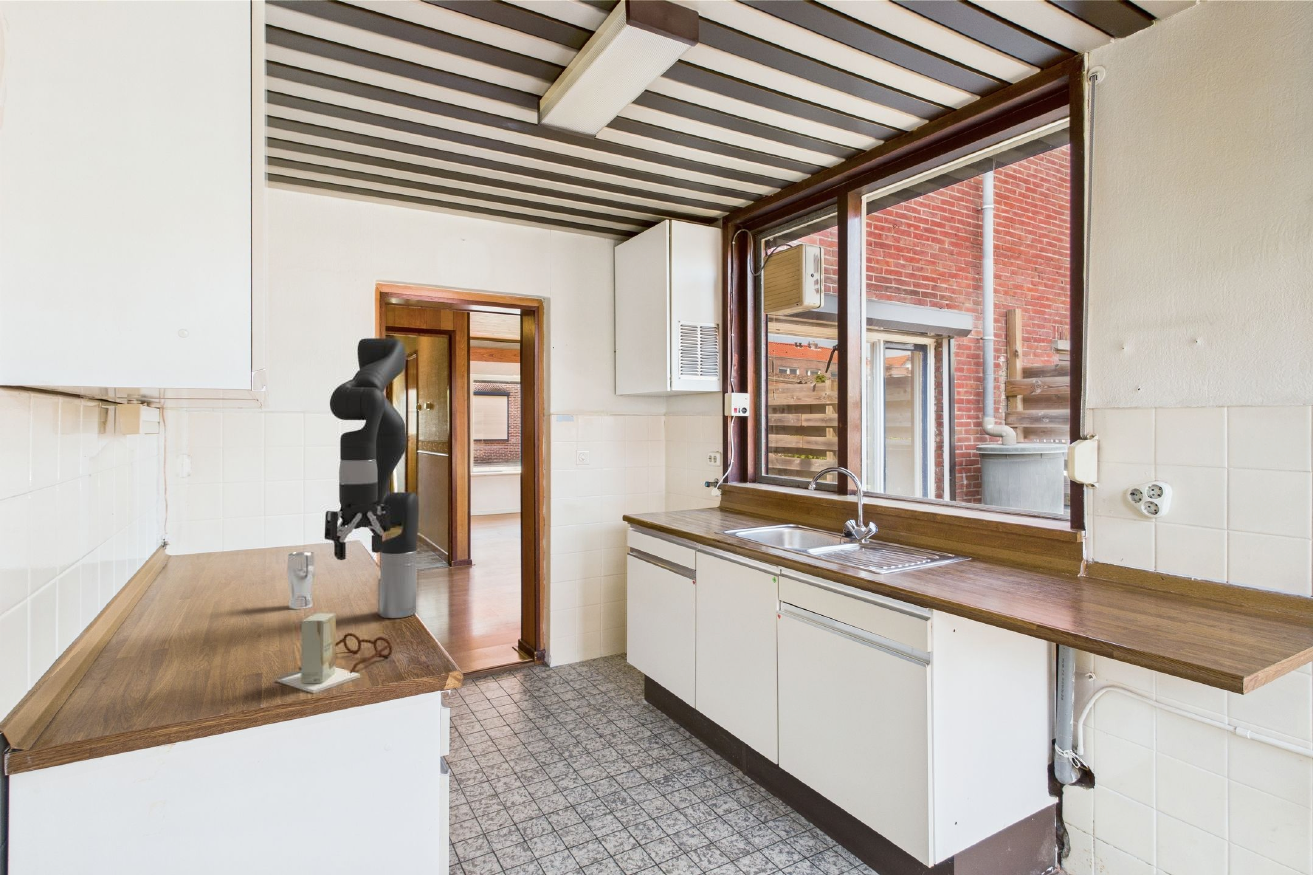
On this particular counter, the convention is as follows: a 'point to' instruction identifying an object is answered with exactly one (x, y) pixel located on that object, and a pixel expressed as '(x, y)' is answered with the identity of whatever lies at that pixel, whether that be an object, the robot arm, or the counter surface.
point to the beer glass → (300, 579)
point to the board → (335, 679)
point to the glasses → (360, 648)
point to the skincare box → (318, 648)
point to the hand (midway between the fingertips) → (358, 555)
